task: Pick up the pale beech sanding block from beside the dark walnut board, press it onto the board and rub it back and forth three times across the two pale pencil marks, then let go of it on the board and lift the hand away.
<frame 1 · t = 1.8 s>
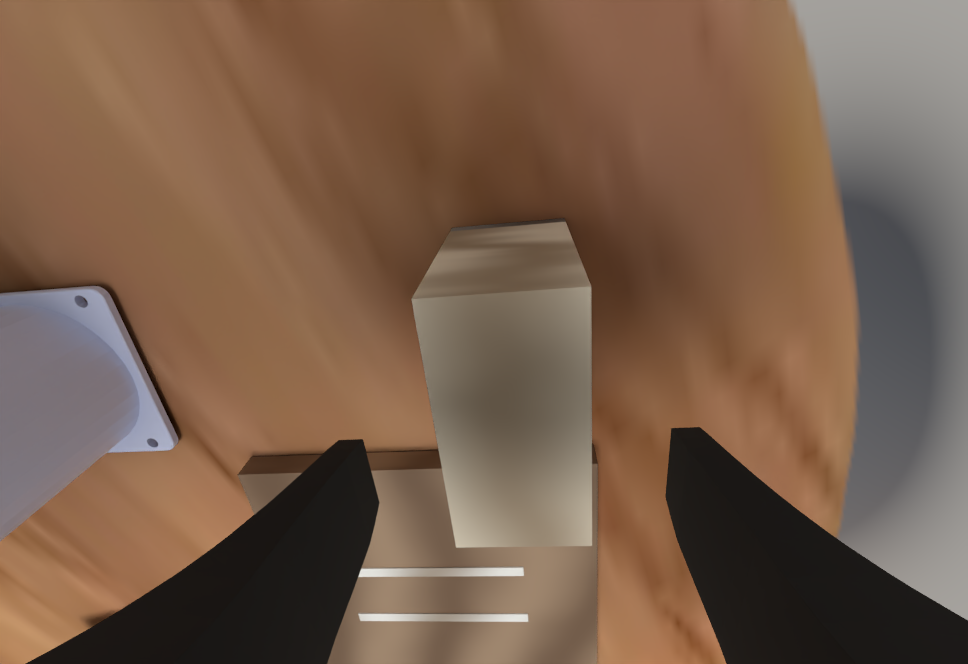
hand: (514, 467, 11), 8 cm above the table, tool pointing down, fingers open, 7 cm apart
sanding block: (515, 324, 18), on the table
walnut board: (441, 576, 25), on the table
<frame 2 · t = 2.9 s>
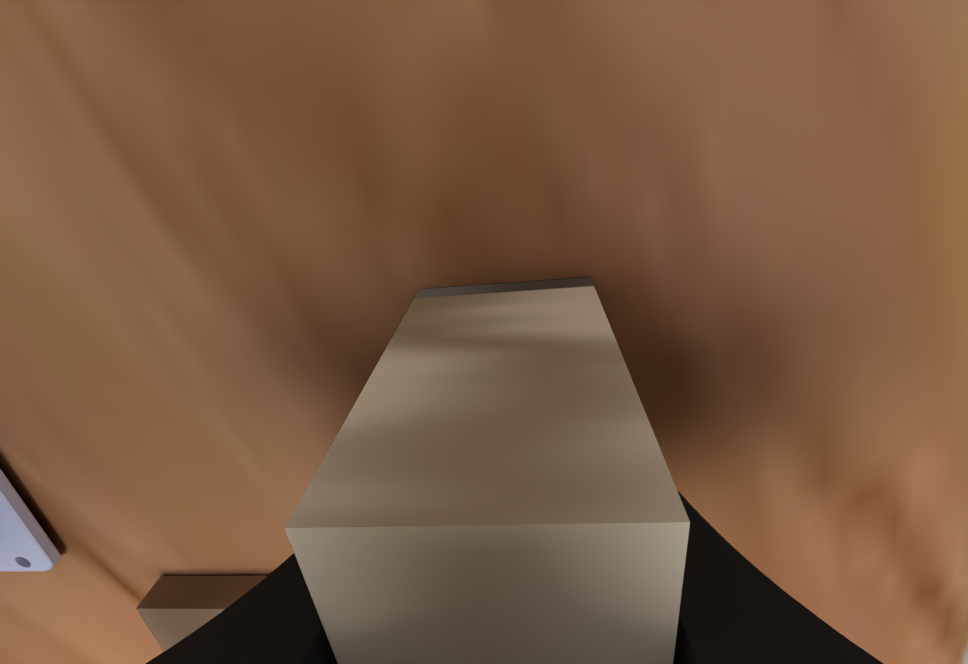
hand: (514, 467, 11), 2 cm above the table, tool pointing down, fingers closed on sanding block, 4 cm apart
sanding block: (515, 423, 13), on the table, touching gripper
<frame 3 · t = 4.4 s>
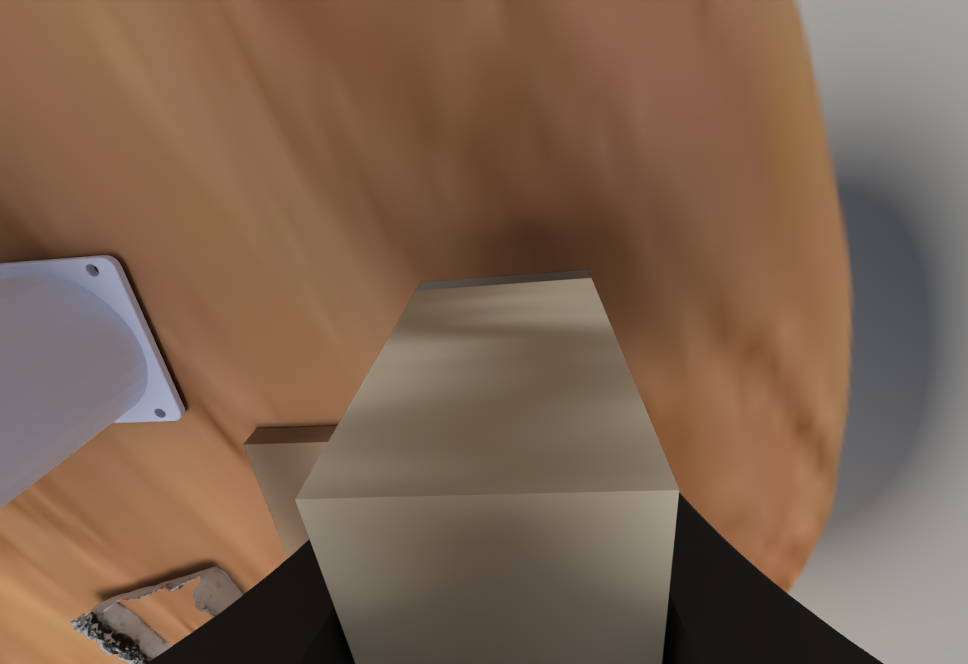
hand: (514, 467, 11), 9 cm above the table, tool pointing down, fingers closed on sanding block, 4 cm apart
sanding block: (515, 414, 13), point 7 cm above the table, touching gripper
walnut board: (442, 550, 25), on the table
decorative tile: (224, 630, 31), on the table
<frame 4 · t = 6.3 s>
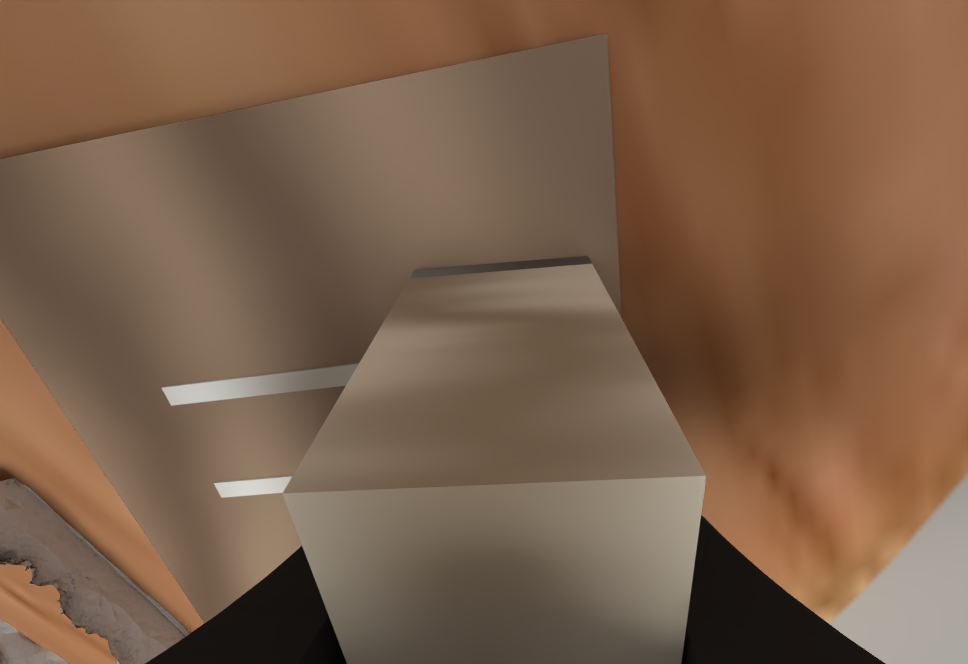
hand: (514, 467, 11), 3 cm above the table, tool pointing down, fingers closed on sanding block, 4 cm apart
sanding block: (512, 407, 12), point 1 cm above the table, touching gripper, walnut board
walnut board: (353, 412, 14), on the table
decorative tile: (75, 594, 21), on the table
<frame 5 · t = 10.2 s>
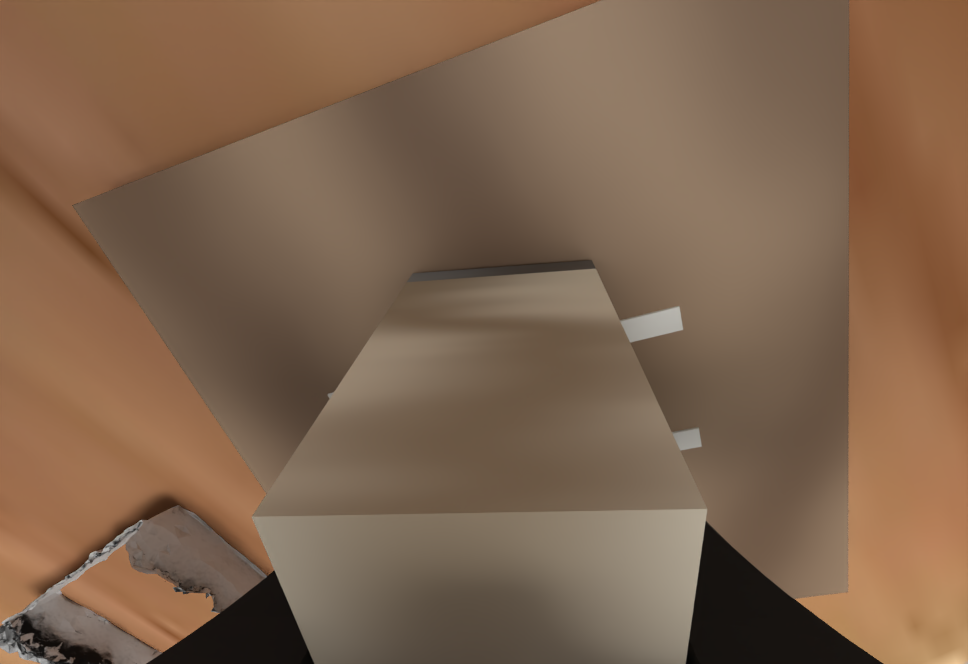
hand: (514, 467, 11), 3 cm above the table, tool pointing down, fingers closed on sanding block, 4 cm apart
sanding block: (513, 415, 12), point 1 cm above the table, touching gripper
walnut board: (516, 400, 13), on the table
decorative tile: (236, 622, 20), on the table
when the fingers open (3 cm above the table, at t = 13.8 s): sanding block stays where it is, resting on walnut board.
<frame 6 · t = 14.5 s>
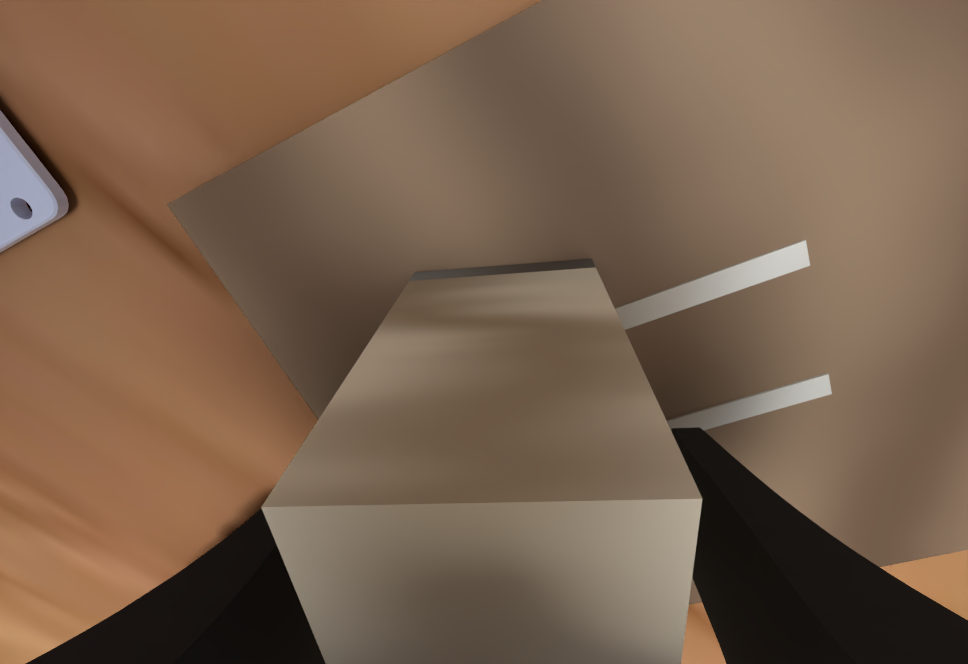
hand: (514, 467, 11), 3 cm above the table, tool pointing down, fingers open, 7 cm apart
sanding block: (514, 412, 12), point 1 cm above the table, touching walnut board
walnut board: (617, 367, 13), on the table
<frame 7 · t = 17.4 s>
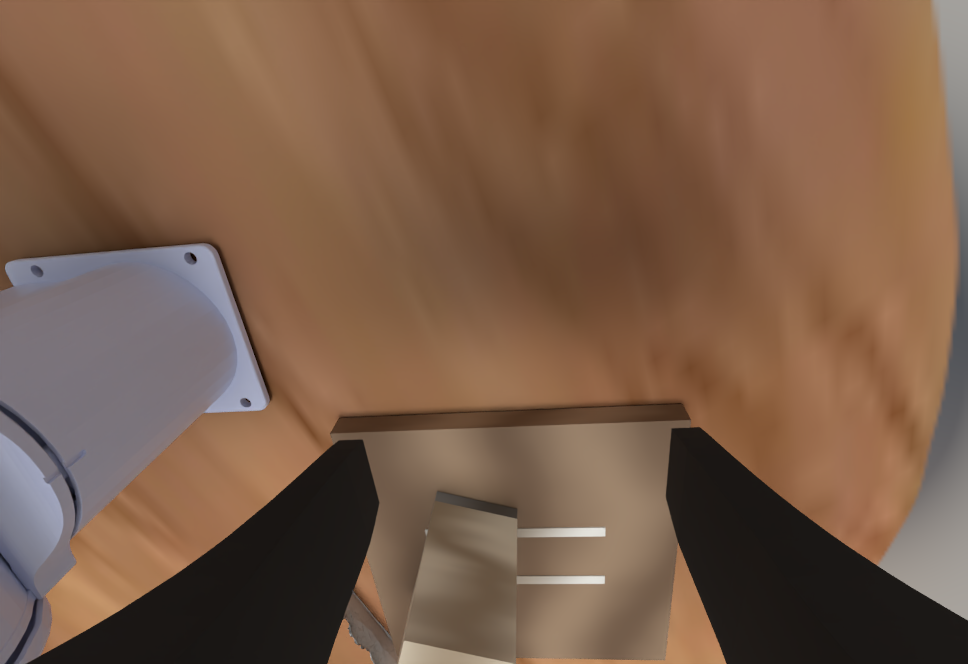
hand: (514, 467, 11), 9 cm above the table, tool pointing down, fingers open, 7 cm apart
sanding block: (461, 554, 24), point 1 cm above the table, touching walnut board
walnut board: (516, 540, 25), on the table
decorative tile: (320, 620, 31), on the table
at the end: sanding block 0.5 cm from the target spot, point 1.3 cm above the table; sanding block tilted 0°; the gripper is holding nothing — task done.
